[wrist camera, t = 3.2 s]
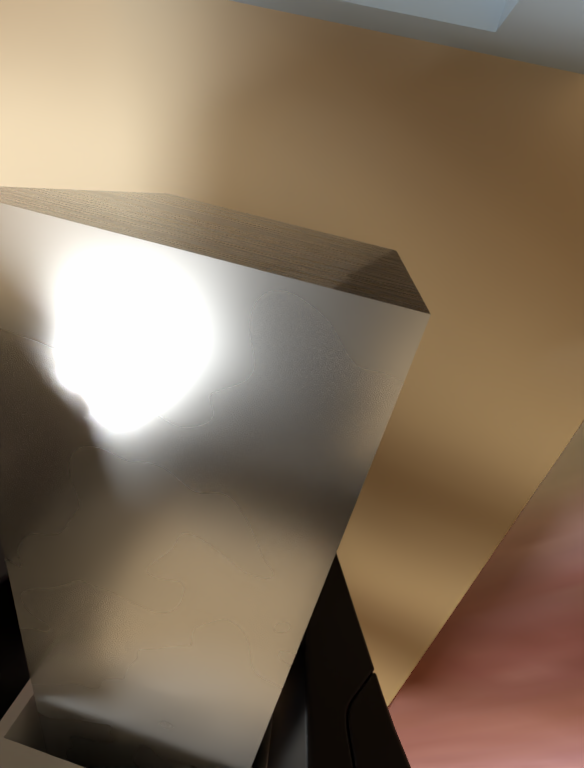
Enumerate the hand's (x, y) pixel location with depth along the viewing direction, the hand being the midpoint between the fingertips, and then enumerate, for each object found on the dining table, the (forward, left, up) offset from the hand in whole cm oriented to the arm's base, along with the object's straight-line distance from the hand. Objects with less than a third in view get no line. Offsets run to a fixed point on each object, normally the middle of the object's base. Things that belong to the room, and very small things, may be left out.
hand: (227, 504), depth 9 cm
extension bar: (-2, 0, 0) cm, 2 cm away
